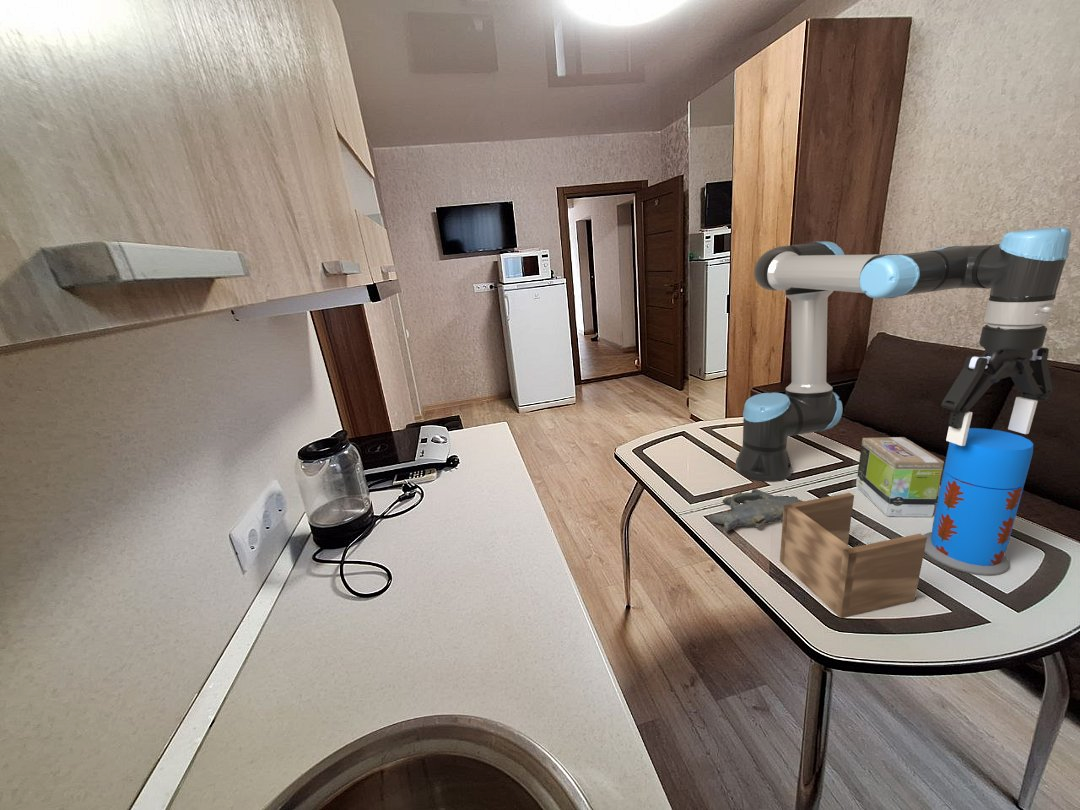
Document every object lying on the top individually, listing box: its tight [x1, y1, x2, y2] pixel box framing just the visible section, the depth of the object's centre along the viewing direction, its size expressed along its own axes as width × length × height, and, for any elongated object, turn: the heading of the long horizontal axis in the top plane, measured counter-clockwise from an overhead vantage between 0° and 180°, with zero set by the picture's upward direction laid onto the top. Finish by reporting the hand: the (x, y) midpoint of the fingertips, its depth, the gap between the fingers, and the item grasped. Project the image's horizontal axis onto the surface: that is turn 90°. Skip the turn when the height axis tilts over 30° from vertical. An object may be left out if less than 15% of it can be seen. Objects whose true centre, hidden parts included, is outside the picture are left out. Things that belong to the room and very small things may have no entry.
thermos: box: [931, 427, 1034, 566], centre depth 82 cm, size 11×11×25 cm
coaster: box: [923, 531, 1010, 577], centre depth 86 cm, size 13×13×1 cm
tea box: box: [855, 436, 945, 518], centre depth 104 cm, size 15×10×15 cm, turn 169°
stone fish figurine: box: [709, 488, 804, 532], centre depth 107 cm, size 5×25×15 cm
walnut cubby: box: [779, 492, 927, 619], centre depth 81 cm, size 16×15×14 cm
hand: (986, 437), depth 78 cm, fingers open, 13 cm apart
